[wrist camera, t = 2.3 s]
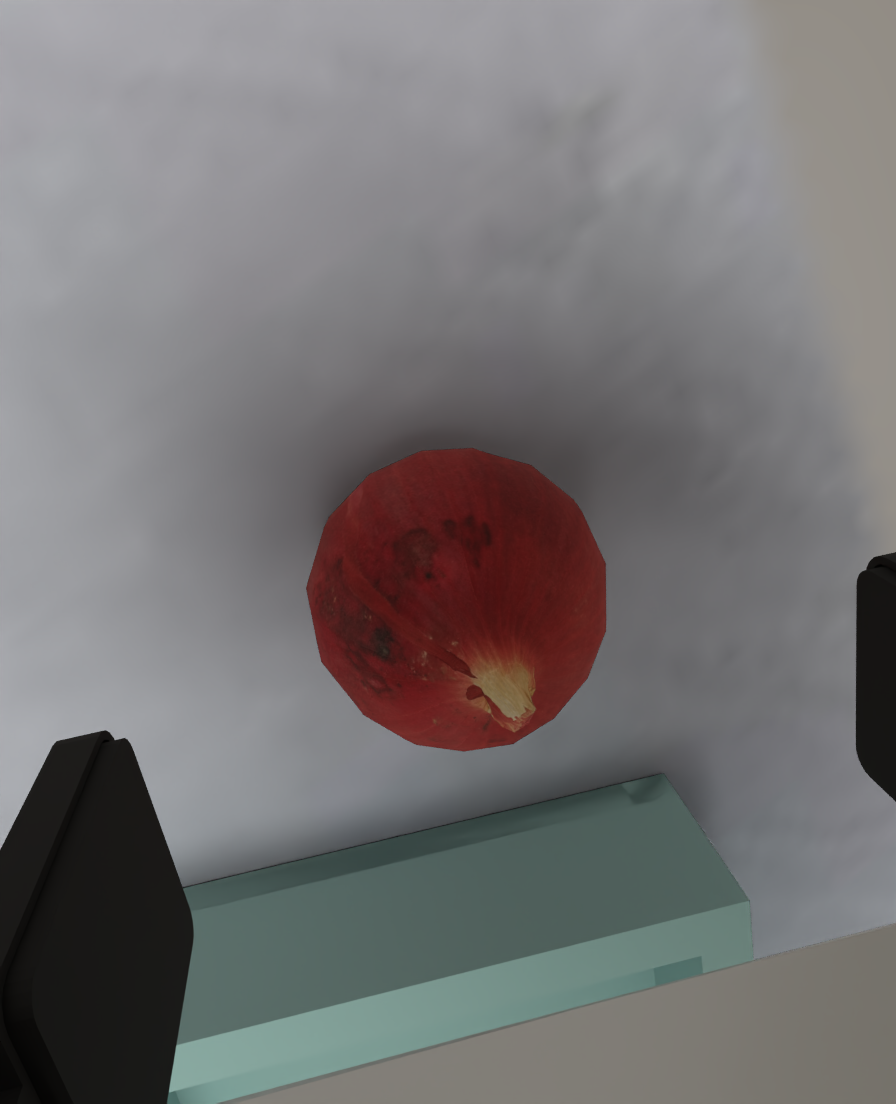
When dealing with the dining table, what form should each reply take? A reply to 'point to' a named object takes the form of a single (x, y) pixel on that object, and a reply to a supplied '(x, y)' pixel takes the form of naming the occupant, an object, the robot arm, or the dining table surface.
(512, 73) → the dining table surface
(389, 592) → the pomegranate
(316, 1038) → the bin
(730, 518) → the dining table surface
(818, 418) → the dining table surface
